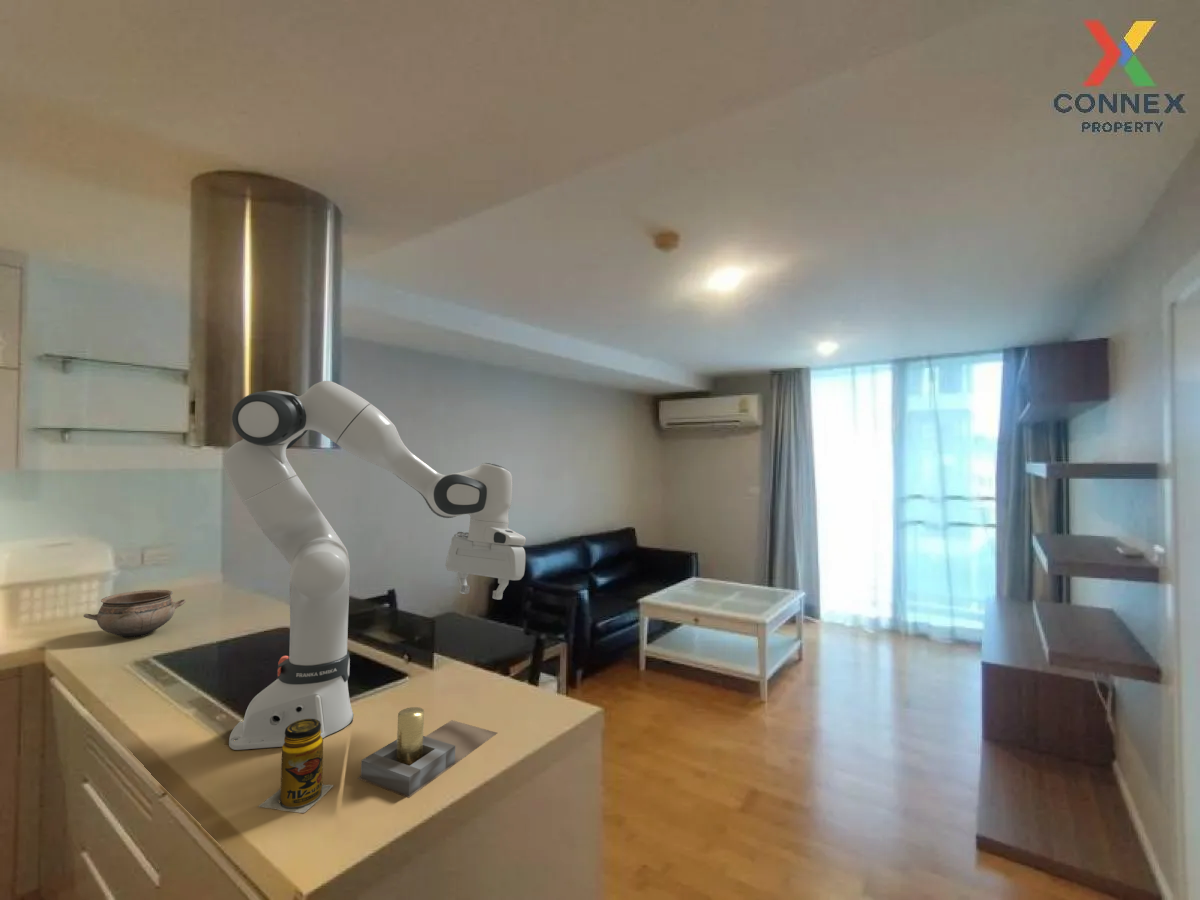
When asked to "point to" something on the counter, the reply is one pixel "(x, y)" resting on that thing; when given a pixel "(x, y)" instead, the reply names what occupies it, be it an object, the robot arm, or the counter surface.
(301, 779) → the condiment
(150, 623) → the cooking pot
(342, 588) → the robot arm
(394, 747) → the jig
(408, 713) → the translucent yellow cylinder
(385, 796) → the counter surface
